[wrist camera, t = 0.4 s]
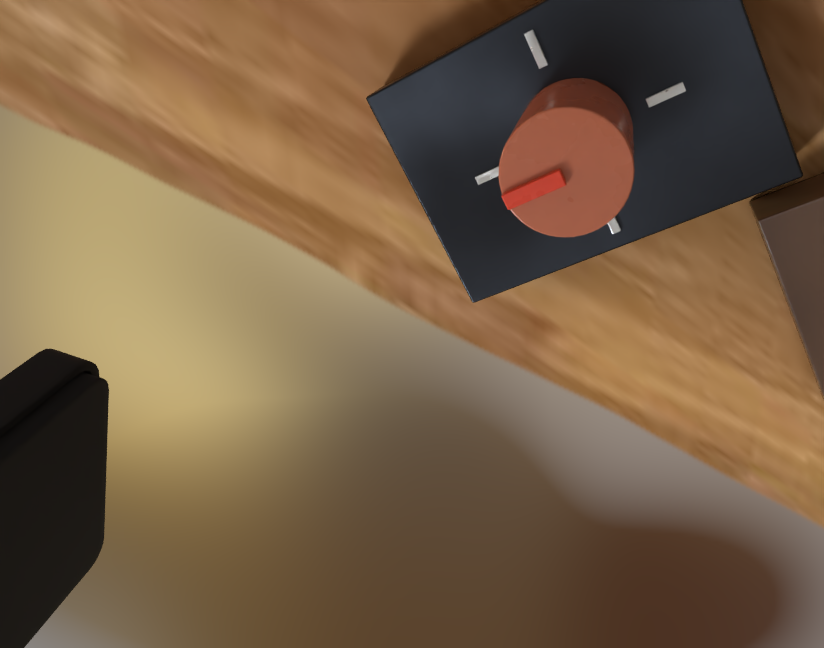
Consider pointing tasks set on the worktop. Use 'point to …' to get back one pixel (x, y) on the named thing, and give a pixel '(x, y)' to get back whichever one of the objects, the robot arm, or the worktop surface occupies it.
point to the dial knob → (569, 159)
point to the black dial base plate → (638, 88)
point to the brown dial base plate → (798, 258)
